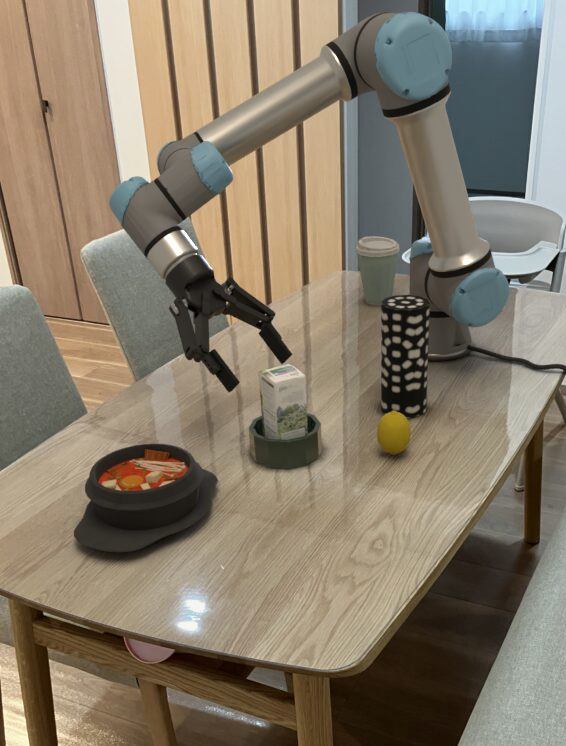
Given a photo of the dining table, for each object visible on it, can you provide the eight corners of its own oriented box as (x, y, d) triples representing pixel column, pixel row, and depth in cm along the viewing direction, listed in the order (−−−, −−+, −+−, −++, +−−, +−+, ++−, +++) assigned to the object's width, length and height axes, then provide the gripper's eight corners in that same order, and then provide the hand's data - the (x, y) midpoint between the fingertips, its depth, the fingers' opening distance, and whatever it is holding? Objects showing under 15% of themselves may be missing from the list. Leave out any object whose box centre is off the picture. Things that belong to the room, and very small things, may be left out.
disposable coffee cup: (405, 297, 207) (406, 236, 199) (390, 311, 199) (390, 247, 191) (366, 293, 211) (365, 233, 203) (349, 306, 203) (348, 244, 195)
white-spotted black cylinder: (432, 403, 154) (436, 297, 143) (417, 421, 148) (420, 312, 137) (390, 396, 157) (391, 292, 147) (374, 414, 151) (373, 307, 140)
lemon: (387, 465, 134) (388, 421, 130) (371, 452, 139) (370, 408, 134) (416, 457, 136) (417, 413, 132) (399, 444, 141) (399, 401, 136)
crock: (326, 438, 143) (325, 411, 141) (314, 470, 134) (312, 443, 131) (261, 434, 145) (259, 408, 142) (244, 466, 135) (241, 439, 133)
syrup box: (293, 440, 143) (288, 361, 135) (310, 454, 138) (306, 373, 131) (263, 449, 140) (256, 369, 133) (279, 463, 136) (273, 381, 128)
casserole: (148, 466, 136) (141, 420, 132) (246, 488, 130) (242, 440, 125) (45, 546, 117) (31, 495, 113) (153, 576, 110) (144, 523, 106)
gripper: (222, 262, 145) (295, 360, 145) (115, 302, 128) (199, 412, 128) (243, 235, 139) (318, 336, 140) (134, 272, 122) (221, 388, 123)
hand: (261, 373), depth 134 cm, fingers open, 13 cm apart
